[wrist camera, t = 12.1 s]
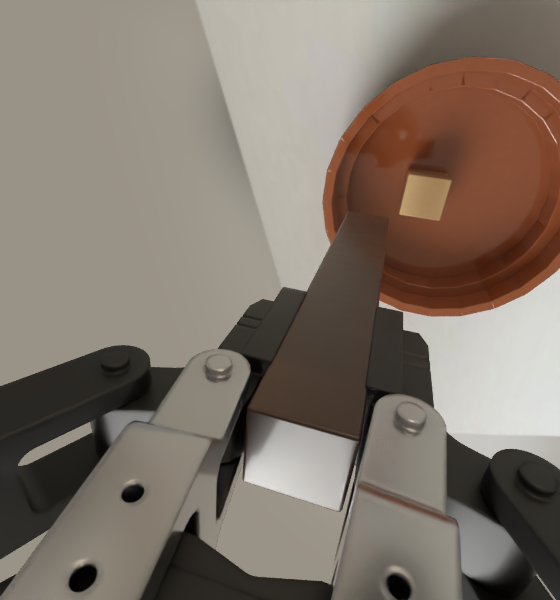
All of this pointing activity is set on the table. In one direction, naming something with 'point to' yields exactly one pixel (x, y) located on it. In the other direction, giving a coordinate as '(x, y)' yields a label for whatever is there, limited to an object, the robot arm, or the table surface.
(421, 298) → the bowl
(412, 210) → the block
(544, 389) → the table surface
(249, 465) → the stick
